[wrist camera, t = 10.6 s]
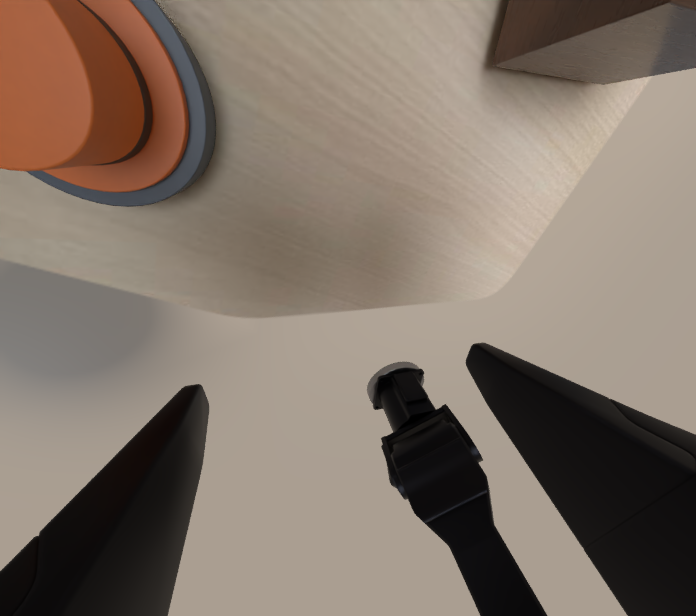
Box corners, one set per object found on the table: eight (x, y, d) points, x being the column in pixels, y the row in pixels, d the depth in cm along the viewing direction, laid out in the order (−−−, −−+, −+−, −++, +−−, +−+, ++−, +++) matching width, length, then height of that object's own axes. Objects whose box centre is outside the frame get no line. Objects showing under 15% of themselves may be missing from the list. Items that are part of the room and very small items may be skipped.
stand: (230, 199, 16) (224, 207, 14) (50, 197, 13) (11, 206, 11) (189, -25, 11) (170, -65, 9) (-101, -84, 9) (-215, -154, 7)
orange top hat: (207, 191, 13) (179, 213, 9) (21, 189, 11) (-120, 213, 7) (154, -40, 9) (58, -192, 5) (-151, -103, 7) (-702, -426, 3)
